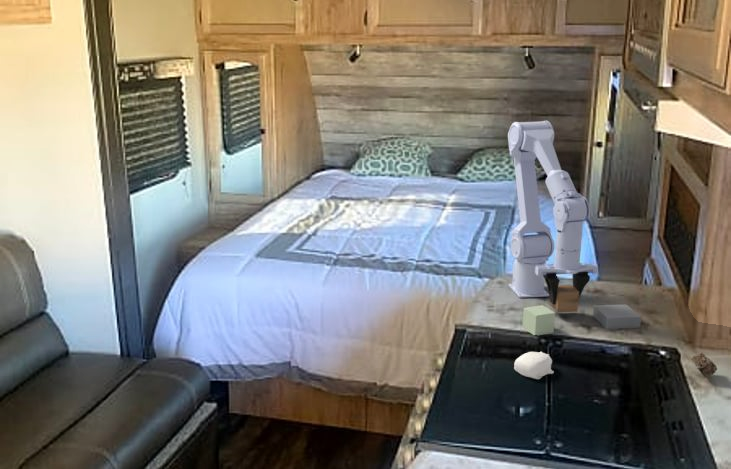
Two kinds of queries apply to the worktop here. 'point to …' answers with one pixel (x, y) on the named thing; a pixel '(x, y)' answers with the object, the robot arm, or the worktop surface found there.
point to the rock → (704, 365)
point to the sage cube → (538, 320)
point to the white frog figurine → (534, 364)
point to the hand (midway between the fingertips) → (563, 302)
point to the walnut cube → (566, 299)
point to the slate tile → (616, 316)
